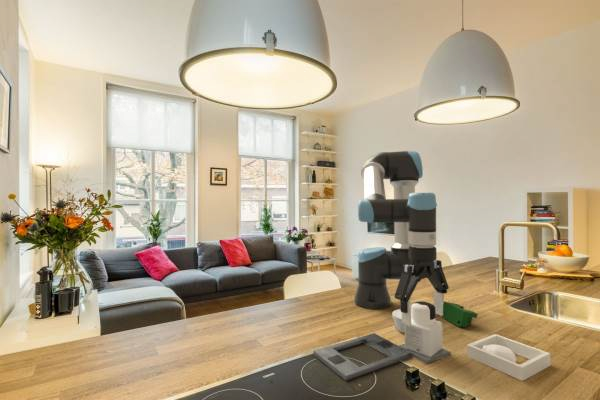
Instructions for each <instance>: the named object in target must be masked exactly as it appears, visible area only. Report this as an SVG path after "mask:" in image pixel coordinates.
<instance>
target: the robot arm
mask: <svg viewBox="0 0 600 400" xmlns="http://www.w3.org/2000/svg"><path fill="white" fill-rule="evenodd" d="M423 170H424V169H423V162H422V158H421V155H420V154H419V153H418V152H417V151H414V150H413V151H412V150H409V151H408V150H404V151H403V150H402V151H385V152H384V151H383V152H382V151H381V152H378V153H377V152H376V153H374V154H373V155H371V156H369V158H367V159H366V160H365V161H364V162H363V164H362V166H361V170H360V176H361V178H362V180H363V199H359V201H358V203H357V204H358V205H357V206H358V207H357V210H358V211H357V213H358V214H357V215H358V216H357V217H358V221H359V222H362V223H371V224H372V223H394V224H393V225H394V242H393V244H392V245H391V247H390V250H387V248H386V247H384V246H382V247H380V246H379V247H377V246H376V247H368V248H364V249H361V250H360V251H359V252H358V254H357V255H358V258H357V263H358V264H357V265H358V269H357V271H358V278H357V279H358V284H357V288H356V293H355V294H354V304H355V305H357V306H359V307H361V308H365V309H366V308H367V309H374V310H375V309H386V308H388V307H390V306H391V304H392V299H391V296H390V293H389V290H388V286H387V280H399V281H398V284H397V286H396V290H395V292H394V299H395V300H399V302H400V309H401V312H402V323H405V324H407V325H409V326H410V325H411V304H412V301H411V300H410V299H411V298H412V295H413V293H414V291H415V290H416V288H417V285H418V284H419V283H420V282H421V281H422V280H425V279H428V281H429V283H430V284H431V286H432V288H433V289H434V291H433V305H434V306H435V315H438V316H441V317H442V315H443V302H444V294H447V293H448V290H449V288H450V286H449V284H448V282H447V279H446V275H445V273H444V270H443V265H442V260H439V259H438V258H437V247H436V245H437V205H438V204H437V200H436V199H437V198H436V196H437V195H436V194H435V193H434V192H416V186H417V185H418V183H419V179H422V178H423V174H424V173H423ZM384 180H389V184H390V185H391V186H392V187H393V198H391V199H390V198H387V197H386V190H385V182H384Z"/></svg>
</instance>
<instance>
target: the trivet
mask: <svg viewBox="0 0 600 400" xmlns="http://www.w3.org/2000/svg"><path fill="white" fill-rule="evenodd" d="M398 346H400V347H402V348H404V349H406V348H405V343H402V344H398ZM406 350H408V351H410V352H411V353H412V357H413V358H415V359H417V360H419V361H421V362H423V363H425V364H429V363H432V362H434V361H437V360H439V359H443V358H445V357H447V356H450V355H451V351H450V350H448V349H446V348H443V347H442V349H441V350H439V351H438V352H437V353H435V354H434V355H433V356H432V357H428V356H425V355H423V354H420V353H417V352H414V351H412V350H409V349H406Z"/></svg>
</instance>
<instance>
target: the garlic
mask: <svg viewBox="0 0 600 400" xmlns="http://www.w3.org/2000/svg"><path fill="white" fill-rule="evenodd" d="M482 349H483V350H485V351H488V352H490V353H492V354H495V355H497V356H500V357H502V358H505V359H507V360H510V361H512V362H514V363H517V357H516V354H515V353H514V352H513V351H512V350H511V349H509V348H507V347H505V346H501V345H494V344H492V345H487V346H485V345H484V346H483V348H482Z"/></svg>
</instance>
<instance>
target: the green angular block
mask: <svg viewBox="0 0 600 400" xmlns="http://www.w3.org/2000/svg"><path fill="white" fill-rule="evenodd" d="M441 317H442V318H443V319H444V320H447V321H448V322H450V323H452V324H454V325H456V327H458V328H460V327H461V328H463V329H464V328H467V327H468V325H470V326H471V325H472V320H473V319H477V317H478V312H474V311H472V310H467V309H466V308H465V307H464V306H463V305H460V304H458V303H454V302H448V301H443V315H442V316H441Z"/></svg>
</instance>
